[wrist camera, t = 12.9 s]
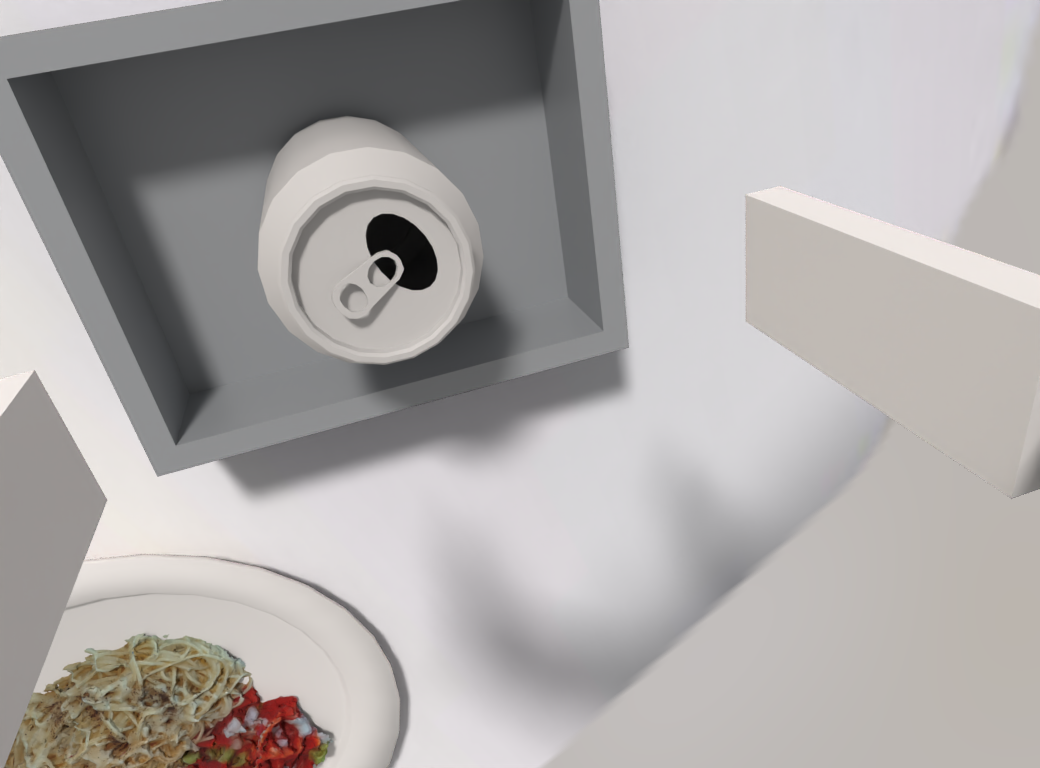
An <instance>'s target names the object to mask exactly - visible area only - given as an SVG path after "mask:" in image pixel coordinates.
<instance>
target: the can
mask: <svg viewBox="0 0 1040 768" xmlns="http://www.w3.org/2000/svg"><path fill="white" fill-rule="evenodd" d="M483 258H484V256H483V250H482V244H481V237H480V231H479V225H478V222H477V220H476V218H475V217H474V215H473V213H472V211H471V209H470V207H469V205H468V203H467V201H466V199H465V197H464V195H463V193H462V192H461V191H460V190H459V189H458V188H457V187H456V186H455V185H454V184H453V183H451V182H450V181H449V180H448V179H447V178H446V177H445V176H444V175H443V174H442V173H441V172H440V171H439V170H438V169H437V168H436V167H435V166H434V165H433V164H432V163H431V162H430V161H429V160H428V159H427V158H426V157H425V156H424V155H423V154H422V153H420V152H419V151H418V150H417V149H416V148H415V147H414V146H413V145H412V144H411V143H410V142H409V141H408V140H407V139H406V138H405V137H404V136H403V135H402V134H400V133H399V132H397V131H395V130H393V129H391V128H389V127H388V126H386V125H384V124H382V123H380V122H378V121H376V120H372V119H365V118H359V117H353V116H341V117H336V118H330V119H324V120H319V121H317V122H315V123H314V124H312V125H310V126H308V127H306V128H304V129H303V130H301V131H299V132H297V133H295V134H294V136H293V137H292V138H291V139H290V140H289V141H288V142H287V144H286V145H285V146H284V147H283V148H282V149H281V150H280V152H279V153H278V154H277V156H276V158H275V161H274V163H273V166H272V168H271V171H270V174H269V176H268V179H267V183H266V190H265V197H264V203H263V210H262V216H261V223H260V229H259V244H258V272H259V275H260V278H261V282H262V285H263V288H264V291H265V294H266V297H267V301H268V303H269V305H270V306H271V308H272V309H273V310H274V312H275V313H276V314H277V316H278V317H279V318H280V320H281V321H282V323H283V324H284V325H285V327H286V328H287V329H288V331H289V332H291V333H292V334H293V335H295V336H296V337H297V338H299V339H300V340H301V341H303V342H304V343H306V344H307V345H308V346H310V347H311V348H312V349H314V350H315V351H317V352H319V353H322V354H325V355H328V356H331V357H334V358H336V359H339V360H342V361H345V362H348V363H362V364H382V365H386V364H390V363H395V362H399V361H403V360H407V359H411V358H415V357H416V356H418V355H420V354H422V353H423V352H425V351H427V350H429V349H430V348H432V347H434V346H436V345H437V344H439V343H440V342H441V341H442V340H443V339H444V338H445V337H446V336H447V335H448V334H449V333H450V332H451V331H452V330H453V329H454V328H455V327H456V326H457V325H458V324H459V322H460V321H461V320H462V319H463V318H464V317H465V315H466V313H467V311H468V309H469V307H470V305H471V303H472V301H473V299H474V297H475V295H476V293H477V291H478V289H479V283H480V277H481V270H482V264H483Z"/></svg>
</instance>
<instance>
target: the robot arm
mask: <svg viewBox="0 0 1040 768" xmlns="http://www.w3.org/2000/svg"><path fill="white" fill-rule="evenodd" d="M746 322H747V323H749V324H750V325H752V326H753V327H755V328H756V329H758V330H759V331H761V332H762V333H764V334H765V335H767V336H768V337H770V338H771V339H773V340H774V341H776V342H777V343H779V344H780V345H782V346H783V347H785V348H786V349H788V350H789V351H791V352H792V353H794V354H795V355H797V356H798V357H800V358H801V359H803V360H804V361H806V362H807V363H809V364H810V365H812V366H813V367H815V368H816V369H818V370H819V371H821V372H822V373H824V374H825V375H827V376H828V377H830V378H831V379H833V380H834V381H836V382H837V383H839V384H840V385H842V386H843V387H845V388H846V389H848V390H849V391H851V392H852V393H854V394H855V395H857V396H858V397H860V398H861V399H863V400H864V401H866V402H867V403H869V404H870V405H872V406H873V407H875V408H876V409H878V410H879V411H881V412H882V413H884V414H885V415H887V416H888V417H890V418H891V419H893V420H894V421H896V422H897V423H899V424H900V425H902V426H903V427H905V428H906V429H908V430H909V431H911V432H912V433H914V434H915V435H917V436H918V437H920V438H921V439H923V440H924V441H926V442H927V443H929V444H930V445H932V446H933V447H935V448H936V449H938V450H939V451H941V452H942V453H944V454H945V455H947V456H948V457H950V458H951V459H953V460H954V461H956V462H957V463H959V464H960V465H962V466H963V467H965V468H966V469H968V470H970V471H971V472H972V473H974V474H975V475H977V476H978V477H980V478H981V479H983V480H984V481H986V482H987V483H989V484H990V485H992V486H993V487H995V488H996V489H998V490H999V491H1001V492H1002V493H1004V494H1005V495H1007V496H1008V497H1010V498H1011V499H1012V498H1015V497H1018V496H1021V495H1024V494H1026V493H1029V492H1032V491H1035V490H1038V489H1040V275H1038V274H1035V273H1032V272H1030V271H1026V270H1023V269H1021V268H1018V267H1015V266H1012V265H1009V264H1006V263H1003V262H1000V261H997V260H995V259H992V258H989V257H986V256H983V255H980V254H977V253H974V252H971V251H968V250H965V249H963V248H960V247H957V246H954V245H951V244H948V243H945V242H942V241H939V240H936V239H933V238H930V237H928V236H925V235H922V234H919V233H916V232H913V231H910V230H907V229H904V228H901V227H898V226H895V225H893V224H890V223H887V222H884V221H881V220H878V219H875V218H872V217H869V216H866V215H863V214H860V213H858V212H855V211H852V210H849V209H846V208H843V207H840V206H837V205H834V204H831V203H828V202H825V201H823V200H820V199H817V198H814V197H811V196H808V195H805V194H802V193H799V192H796V191H793V190H790V189H788V188H785V187H782V186H778V187H774V188H770V189H766V190H762V191H758V192H754V193H750V194H746ZM106 502H107V499H106V497H105V495H104V493H103V492H102V490H101V488H100V486H99V484H98V483H97V481H96V479H95V477H94V475H93V474H92V472H91V470H90V468H89V467H88V465H87V463H86V461H85V459H84V458H83V456H82V454H81V452H80V450H79V449H78V447H77V445H76V443H75V441H74V440H73V438H72V436H71V434H70V432H69V431H68V429H67V427H66V425H65V424H64V422H63V420H62V418H61V416H60V415H59V413H58V411H57V409H56V407H55V406H54V404H53V402H52V400H51V398H50V397H49V395H48V393H47V391H46V390H45V388H44V386H43V384H42V382H41V381H40V379H39V377H38V375H37V373H36V372H35V370H33V371H29V372H25V373H21V374H17V375H13V376H8V377H4V378H0V768H4V766H5V764H6V761H7V759H8V756H9V753H10V751H11V748H12V746H13V743H14V740H15V738H16V735H17V733H18V730H19V728H20V725H21V722H22V720H23V717H24V715H25V712H26V709H27V707H28V704H29V702H30V699H31V696H32V694H33V691H34V689H35V686H36V683H37V681H38V678H39V676H40V673H41V670H42V668H43V665H44V663H45V660H46V657H47V655H48V652H49V650H50V647H51V644H52V642H53V639H54V637H55V634H56V631H57V629H58V626H59V624H60V621H61V618H62V616H63V613H64V611H65V608H66V605H67V603H68V600H69V598H70V595H71V593H72V590H73V587H74V585H75V582H76V580H77V577H78V574H79V572H80V569H81V567H82V564H83V561H84V559H85V556H86V554H87V551H88V548H89V546H90V543H91V541H92V538H93V535H94V533H95V530H96V528H97V525H98V522H99V520H100V517H101V515H102V512H103V509H104V507H105V504H106Z"/></svg>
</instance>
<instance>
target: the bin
mask: <svg viewBox="0 0 1040 768" xmlns="http://www.w3.org/2000/svg"><path fill="white" fill-rule="evenodd" d="M341 116H353V117H359V118H365V119H372V120H376V121H378V122H380V123H382V124H384V125H386V126H388V127H389V128H391V129H393V130H395V131H397V132H399V133H400V134H402V135H403V136H404V137H405V138H406V139H407V140H408V141H409V142H410V143H411V144H412V145H413V146H414V147H415V148H416V149H417V150H418V151H419V152H420V153H422V154H423V155H424V156H425V157H426V158H427V159H428V160H429V161H430V162H431V163H432V164H433V165H434V166H435V167H436V168H437V169H438V170H439V171H440V172H441V173H442V174H443V175H444V176H445V177H446V178H447V179H448V180H449V181H450V182H451V183H453V184H454V185H455V186H456V187H457V188H458V189H459V190H460V191H461V192H462V193H463V195H464V197H465V199H466V201H467V203H468V205H469V207H470V209H471V211H472V213H473V215H474V217H475V218H476V220H477V222H478V225H479V231H480V237H481V244H482V250H483V256H484V258H483V264H482V270H481V277H480V283H479V289H478V291H477V293H476V295H475V297H474V299H473V301H472V303H471V305H470V307H469V309H468V311H467V313H466V315H465V317H464V318H463V319H462V320H461V321H460V322H459V324H458V325H457V326H456V327H455V328H454V329H453V330H452V331H451V332H450V333H449V334H448V335H447V336H446V337H445V338H444V339H443V340H442V341H441V342H440V343H439V344H437V345H436V346H434V347H432V348H430V349H429V350H427V351H425V352H423V353H422V354H420V355H418V356H416V357H415V358H411V359H407V360H403V361H399V362H395V363H390V364H386V365H382V364H362V363H348V362H345V361H342V360H339V359H336V358H334V357H331V356H328V355H325V354H322V353H319V352H317V351H315V350H314V349H312V348H311V347H310V346H308V345H307V344H306V343H304V342H303V341H301V340H300V339H299V338H297V337H296V336H295V335H293V334H292V333H291V332H289V331H288V329H287V328H286V327H285V325H284V324H283V323H282V321H281V320H280V318H279V317H278V316H277V314H276V313H275V312H274V310H273V309H272V308H271V306H270V305H269V303H268V301H267V297H266V294H265V291H264V288H263V285H262V282H261V278H260V275H259V272H258V244H259V229H260V223H261V216H262V210H263V203H264V197H265V190H266V183H267V179H268V176H269V174H270V171H271V168H272V166H273V163H274V161H275V158H276V156H277V154H278V153H279V152H280V150H281V149H282V148H283V147H284V146H285V145H286V144H287V142H288V141H289V140H290V139H291V138H292V137H293V136H294V134H295V133H297V132H299V131H301V130H303V129H304V128H306V127H308V126H310V125H312V124H314V123H315V122H317V121H319V120H324V119H330V118H336V117H341ZM0 155H1V157H2V159H3V161H4V163H5V165H6V167H7V169H8V171H9V173H10V175H11V177H12V179H13V181H14V183H15V186H16V188H17V190H18V192H19V194H20V196H21V198H22V200H23V202H24V204H25V206H26V208H27V210H28V212H29V214H30V216H31V218H32V220H33V222H34V224H35V227H36V229H37V231H38V233H39V235H40V237H41V239H42V241H43V243H44V245H45V247H46V249H47V251H48V253H49V255H50V257H51V259H52V261H53V263H54V265H55V268H56V270H57V272H58V274H59V276H60V278H61V280H62V282H63V284H64V286H65V288H66V290H67V292H68V294H69V296H70V298H71V300H72V302H73V304H74V306H75V309H76V311H77V313H78V315H79V317H80V319H81V321H82V323H83V325H84V327H85V329H86V331H87V333H88V335H89V337H90V339H91V341H92V343H93V345H94V347H95V350H96V352H97V354H98V356H99V358H100V360H101V362H102V364H103V366H104V368H105V370H106V372H107V374H108V376H109V378H110V380H111V382H112V384H113V386H114V389H115V391H116V393H117V395H118V397H119V399H120V401H121V403H122V405H123V407H124V409H125V411H126V413H127V415H128V417H129V419H130V421H131V423H132V425H133V427H134V430H135V432H136V434H137V436H138V438H139V440H140V442H141V444H142V446H143V448H144V450H145V452H146V454H147V456H148V458H149V460H150V462H151V464H152V466H153V468H154V471H155V473H156V475H157V477H158V476H162V475H165V474H169V473H173V472H176V471H180V470H184V469H187V468H191V467H195V466H198V465H202V464H205V463H209V462H213V461H216V460H220V459H224V458H227V457H231V456H235V455H238V454H242V453H246V452H249V451H253V450H257V449H260V448H264V447H268V446H271V445H275V444H278V443H282V442H286V441H289V440H293V439H297V438H300V437H304V436H308V435H311V434H315V433H319V432H322V431H326V430H330V429H333V428H337V427H340V426H344V425H348V424H351V423H355V422H359V421H362V420H366V419H370V418H373V417H377V416H381V415H384V414H388V413H392V412H395V411H399V410H403V409H406V408H410V407H413V406H417V405H421V404H424V403H428V402H432V401H435V400H439V399H443V398H446V397H450V396H454V395H457V394H461V393H465V392H468V391H472V390H475V389H479V388H483V387H486V386H490V385H494V384H497V383H501V382H505V381H508V380H512V379H516V378H519V377H523V376H527V375H530V374H534V373H538V372H541V371H545V370H548V369H552V368H556V367H559V366H563V365H567V364H570V363H574V362H578V361H581V360H585V359H589V358H592V357H596V356H600V355H603V354H607V353H610V352H614V351H618V350H621V349H625V348H629V343H628V331H627V320H626V308H625V296H624V285H623V273H622V262H621V250H620V238H619V227H618V215H617V203H616V192H615V180H614V169H613V157H612V145H611V134H610V122H609V110H608V99H607V87H606V76H605V64H604V52H603V41H602V29H601V17H600V6H599V0H222V1H216V2H210V3H204V4H198V5H192V6H185V7H179V8H173V9H167V10H161V11H155V12H149V13H143V14H136V15H130V16H124V17H118V18H112V19H106V20H100V21H94V22H87V23H81V24H75V25H69V26H63V27H57V28H51V29H45V30H38V31H32V32H26V33H20V34H14V35H8V36H2V37H0Z"/></svg>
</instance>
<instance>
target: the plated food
mask: <svg viewBox="0 0 1040 768" xmlns="http://www.w3.org/2000/svg"><path fill="white" fill-rule="evenodd" d="M399 729H400V696H399V692H398V689H397V685H396V681H395V678H394V674H393V670H392V666H391V664H390V662H389V661H388V659H387V657H386V656H385V654H384V652H383V651H382V649H381V647H380V646H379V644H378V642H377V641H376V639H375V637H374V636H373V634H372V633H370V632H369V631H368V630H367V629H366V628H365V627H364V626H363V625H362V624H361V623H360V622H359V621H358V620H357V619H356V618H355V617H354V616H353V615H352V614H351V613H350V612H349V611H348V610H347V609H346V608H344V607H343V606H341V605H340V604H338V603H336V602H335V601H333V600H331V599H330V598H328V597H326V596H325V595H323V594H322V593H320V592H318V591H317V590H315V589H313V588H312V587H310V586H308V585H306V584H304V583H301V582H298V581H296V580H293V579H290V578H288V577H285V576H282V575H280V574H277V573H274V572H272V571H269V570H266V569H264V568H261V567H256V566H251V565H246V564H241V563H236V562H231V561H226V560H221V559H215V558H210V557H203V556H180V555H157V554H140V555H130V556H120V557H110V558H100V559H90V560H84V561H83V564H82V567H81V569H80V572H79V574H78V577H77V580H76V582H75V585H74V587H73V590H72V593H71V595H70V598H69V600H68V603H67V605H66V608H65V611H64V613H63V616H62V618H61V621H60V624H59V626H58V629H57V631H56V634H55V637H54V639H53V642H52V644H51V647H50V650H49V652H48V655H47V657H46V660H45V663H44V665H43V668H42V670H41V673H40V676H39V678H38V681H37V683H36V686H35V689H34V691H33V694H32V696H31V699H30V702H29V704H28V707H27V709H26V712H25V715H24V717H23V720H22V722H21V725H20V728H19V730H18V733H17V735H16V738H15V740H14V743H13V746H12V748H11V751H10V753H9V756H8V759H7V761H6V764H5V766H4V768H388V766H389V764H390V762H391V759H392V755H393V752H394V749H395V745H396V742H397V738H398V735H399Z"/></svg>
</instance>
